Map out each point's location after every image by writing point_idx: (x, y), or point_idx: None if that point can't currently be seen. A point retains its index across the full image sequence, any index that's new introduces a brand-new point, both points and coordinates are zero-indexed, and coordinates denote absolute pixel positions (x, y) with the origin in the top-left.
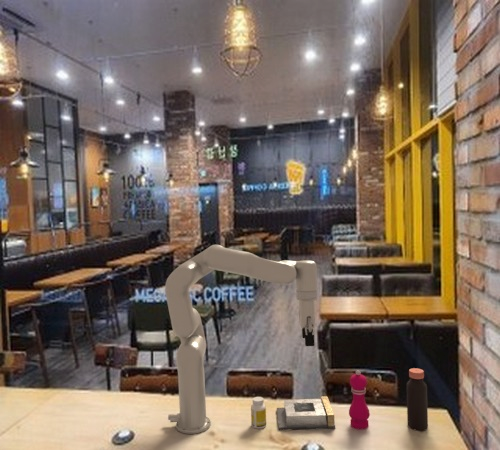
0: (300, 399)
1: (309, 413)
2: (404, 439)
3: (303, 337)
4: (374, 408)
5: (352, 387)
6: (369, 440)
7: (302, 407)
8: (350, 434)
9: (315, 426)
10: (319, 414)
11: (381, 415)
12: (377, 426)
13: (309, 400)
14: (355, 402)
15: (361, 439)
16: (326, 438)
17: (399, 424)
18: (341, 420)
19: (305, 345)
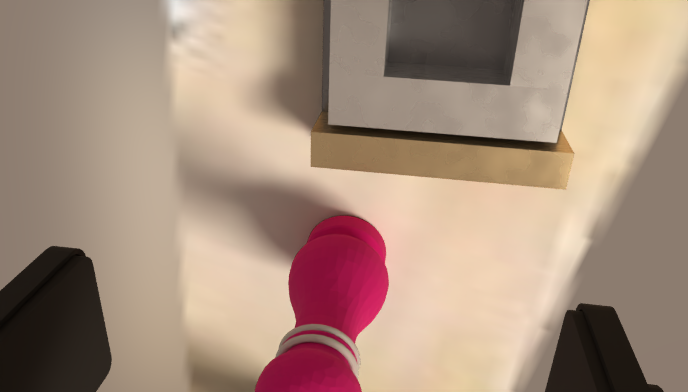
0: (583, 10)
1: (359, 34)
2: (227, 354)
3: (568, 322)
4: (500, 354)
5: (314, 346)
6: (218, 245)
7: (518, 9)
8: (268, 190)
9: (323, 47)
10: (339, 91)
11: (426, 354)
12: None
13: (549, 69)
14: (304, 300)
15: (225, 219)
16: (233, 79)
17: None
18: (405, 189)
19: (49, 249)
